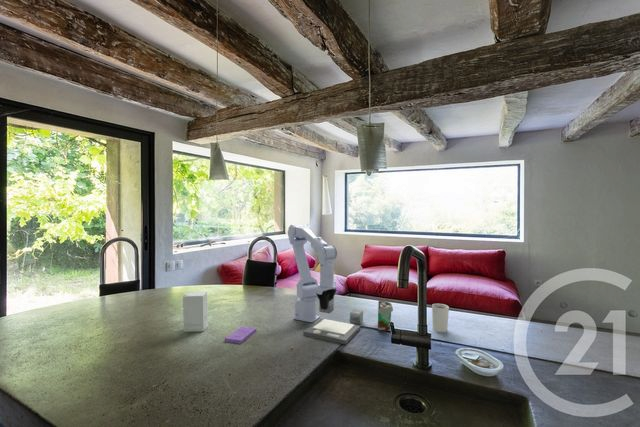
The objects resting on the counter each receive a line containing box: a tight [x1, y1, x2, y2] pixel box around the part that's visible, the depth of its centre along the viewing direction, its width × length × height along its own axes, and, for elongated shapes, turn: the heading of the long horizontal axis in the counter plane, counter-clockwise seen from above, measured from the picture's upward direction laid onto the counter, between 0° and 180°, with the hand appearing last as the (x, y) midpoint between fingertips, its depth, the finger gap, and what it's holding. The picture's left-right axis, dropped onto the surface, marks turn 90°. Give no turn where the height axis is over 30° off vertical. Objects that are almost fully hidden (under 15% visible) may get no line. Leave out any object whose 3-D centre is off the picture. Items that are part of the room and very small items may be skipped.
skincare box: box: [182, 291, 209, 333], centre depth 126 cm, size 8×6×15 cm
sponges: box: [224, 326, 257, 344], centre depth 121 cm, size 7×13×2 cm, turn 165°
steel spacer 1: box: [318, 297, 335, 314], centre depth 128 cm, size 4×4×5 cm
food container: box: [377, 299, 394, 333], centre depth 131 cm, size 12×6×10 cm, turn 168°
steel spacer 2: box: [349, 308, 364, 326], centre depth 137 cm, size 4×4×5 cm
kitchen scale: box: [303, 318, 361, 345], centre depth 125 cm, size 18×16×2 cm
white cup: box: [431, 303, 450, 333], centre depth 129 cm, size 7×7×10 cm
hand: (326, 307), depth 128 cm, fingers closed on steel spacer 1, 4 cm apart
